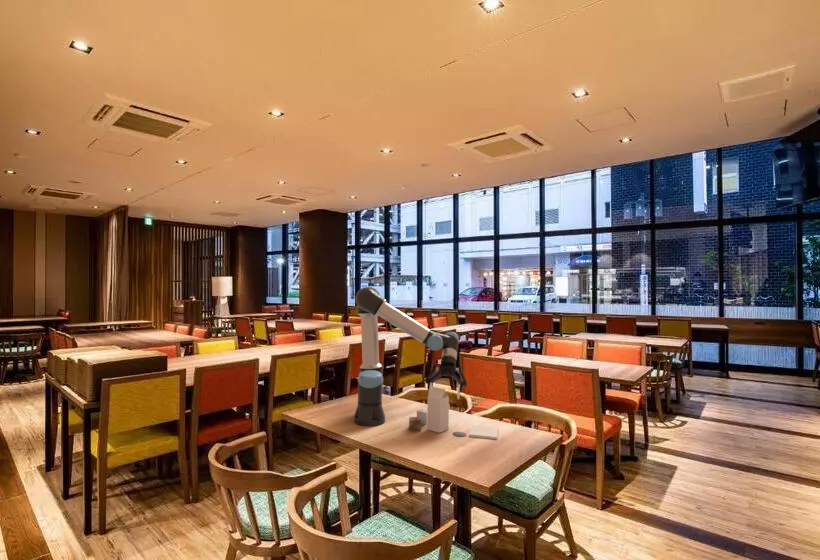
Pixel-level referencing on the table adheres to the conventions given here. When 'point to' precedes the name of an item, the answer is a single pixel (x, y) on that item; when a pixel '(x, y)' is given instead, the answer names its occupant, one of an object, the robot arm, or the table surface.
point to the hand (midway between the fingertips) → (443, 396)
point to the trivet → (484, 432)
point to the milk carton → (438, 410)
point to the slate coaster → (459, 434)
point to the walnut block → (415, 423)
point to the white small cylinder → (422, 416)
